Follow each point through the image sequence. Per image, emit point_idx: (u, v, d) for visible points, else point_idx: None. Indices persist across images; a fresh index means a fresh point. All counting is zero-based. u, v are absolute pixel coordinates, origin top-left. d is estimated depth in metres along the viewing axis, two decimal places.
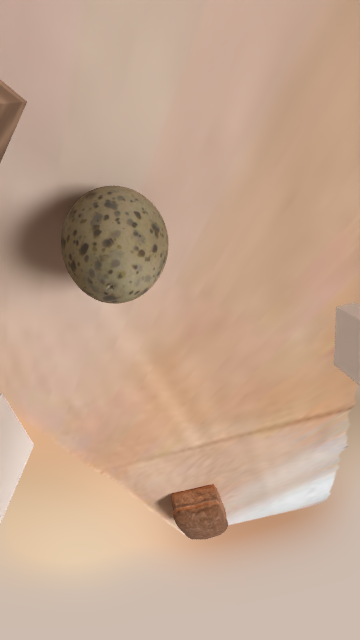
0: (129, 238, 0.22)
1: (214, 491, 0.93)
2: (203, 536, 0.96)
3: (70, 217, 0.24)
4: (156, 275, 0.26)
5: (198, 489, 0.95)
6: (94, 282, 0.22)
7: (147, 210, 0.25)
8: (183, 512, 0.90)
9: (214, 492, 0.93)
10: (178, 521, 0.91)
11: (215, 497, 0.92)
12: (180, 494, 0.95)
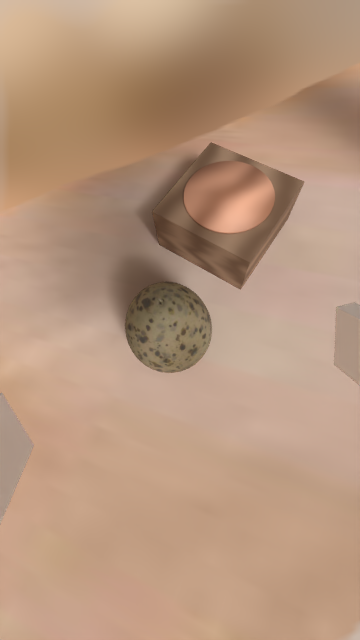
0: (194, 323, 0.28)
1: None
2: None
3: None
4: (157, 350, 0.29)
5: None
6: (163, 291, 0.27)
7: (204, 346, 0.32)
8: None
9: None
10: None
11: None
12: None
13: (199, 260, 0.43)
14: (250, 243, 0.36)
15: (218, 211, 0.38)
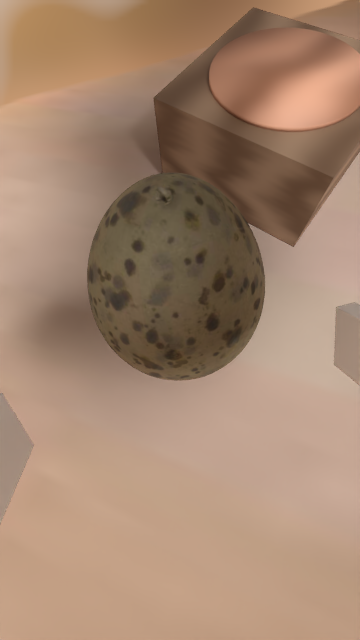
0: (243, 266, 0.12)
1: None
2: None
3: None
4: (151, 327, 0.12)
5: None
6: (172, 175, 0.11)
7: (252, 329, 0.15)
8: None
9: None
10: None
11: None
12: None
13: (228, 196, 0.26)
14: (331, 147, 0.20)
15: (271, 96, 0.21)
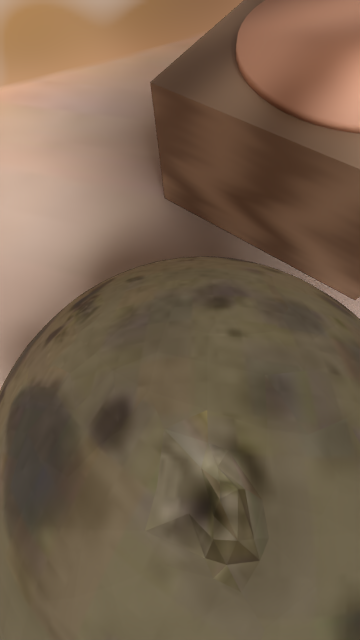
0: None
1: None
2: None
3: None
4: None
5: None
6: (228, 322, 0.02)
7: None
8: None
9: None
10: None
11: None
12: None
13: (259, 228, 0.18)
14: None
15: (339, 77, 0.13)
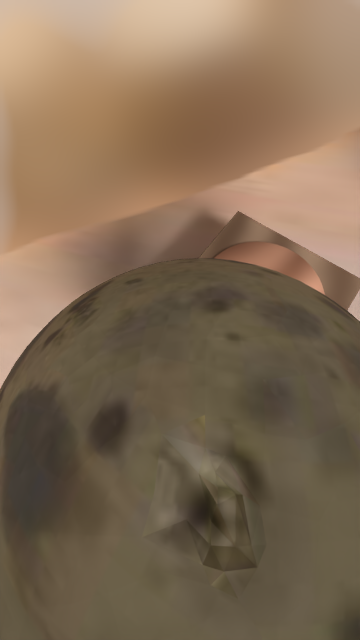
0: None
1: None
2: None
3: None
4: None
5: None
6: (226, 325, 0.02)
7: None
8: None
9: None
10: None
11: None
12: None
13: None
14: None
15: None
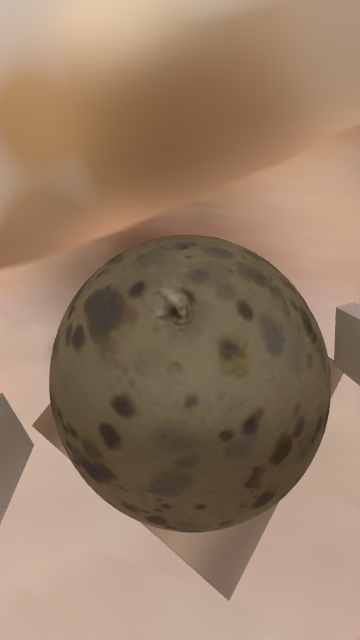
0: (318, 402, 0.06)
1: None
2: None
3: None
4: (156, 514, 0.07)
5: None
6: (186, 253, 0.06)
7: None
8: None
9: None
10: None
11: None
12: None
13: None
14: (231, 539, 0.16)
15: None
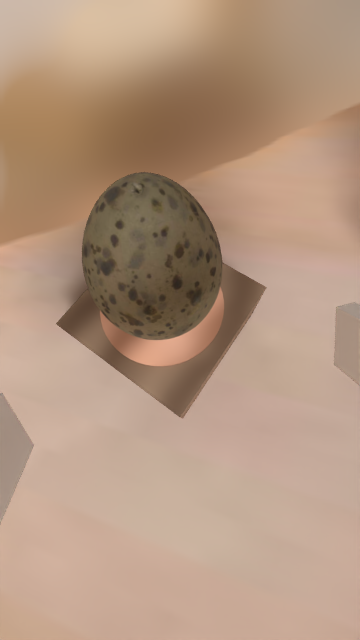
0: (197, 240, 0.16)
1: None
2: None
3: None
4: (132, 287, 0.16)
5: None
6: (143, 174, 0.15)
7: (211, 292, 0.19)
8: None
9: None
10: None
11: None
12: None
13: None
14: (183, 385, 0.26)
15: None
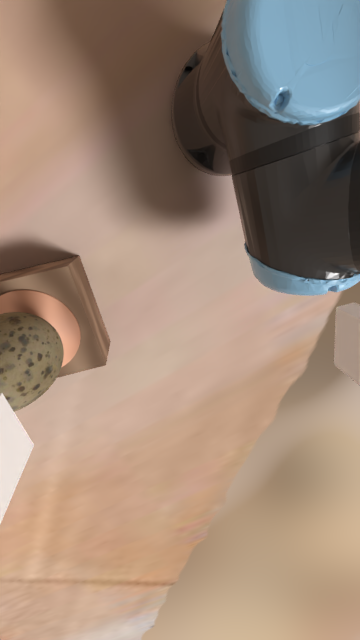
0: (19, 374, 0.27)
1: None
2: None
3: None
4: (25, 405, 0.30)
5: None
6: None
7: (51, 354, 0.31)
8: None
9: None
10: None
11: None
12: None
13: None
14: (91, 353, 0.41)
15: None
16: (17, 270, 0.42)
